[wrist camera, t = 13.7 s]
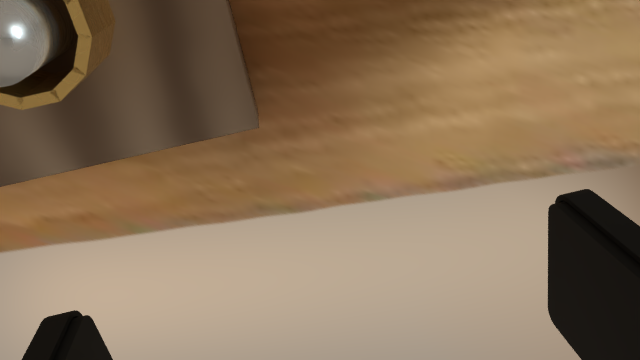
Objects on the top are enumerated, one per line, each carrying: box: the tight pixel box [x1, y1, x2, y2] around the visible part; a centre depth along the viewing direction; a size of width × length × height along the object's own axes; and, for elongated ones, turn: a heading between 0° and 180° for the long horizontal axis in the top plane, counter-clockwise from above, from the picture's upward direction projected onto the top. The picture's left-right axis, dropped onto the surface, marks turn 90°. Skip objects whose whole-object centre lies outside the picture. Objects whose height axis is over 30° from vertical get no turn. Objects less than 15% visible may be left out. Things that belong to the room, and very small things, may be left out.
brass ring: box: [0, 0, 116, 110], centre depth 27 cm, size 7×7×5 cm
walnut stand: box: [0, 0, 259, 187], centre depth 31 cm, size 20×14×3 cm
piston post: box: [0, 0, 78, 87], centre depth 26 cm, size 4×4×7 cm
